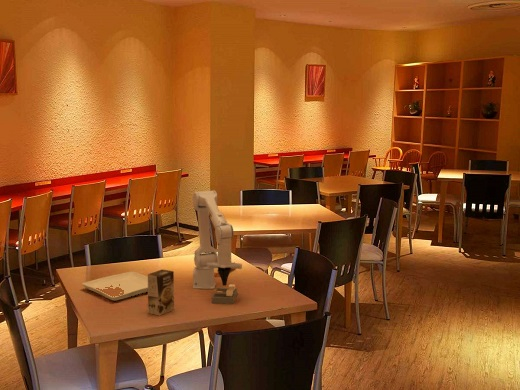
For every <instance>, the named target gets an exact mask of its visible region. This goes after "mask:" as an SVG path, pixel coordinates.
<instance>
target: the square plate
mask: <svg viewBox="0 0 520 390" xmlns="http://www.w3.org/2000/svg"><path fill="white" fill-rule="evenodd" d="M119 284H120V286H119ZM111 285H112V286H113V287H110V286H111ZM81 286H83V287H84V288H85V289H87V290H89V291H92V292H94V293H97V294H98V295H100V296H103V297H105V298H107V299H109V300H111V301H119V300H124V299H127V298H132V297H135V295H136V296H139V295H143V294H147V293H148V275H144V274H142V273H138V272H135V271H128V272H122V273H119V274H113V275H108V276H103V277H99V278H96V279H92V280H89V281H88V280H87V281H84V282H82V283H81ZM105 287H110V288H113V289H115V288H116V287H119V288H121V289H122V290H124V294H123V295H120V294H119V295H120V296H115V297H114V296H113V297H112V296H110V295H108V294H106V293H104V292H102V291H100V290H98V289H96V288H99V289H102V290H103V289H108V288H105ZM146 292H147V293H146ZM120 293H122V292H120ZM142 293H143V294H142ZM138 294H139V295H138ZM131 296H132V297H131Z"/></svg>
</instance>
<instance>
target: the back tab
mask: <svg viewBox="0 0 520 390" xmlns="http://www.w3.org/2000/svg"><path fill="white" fill-rule="evenodd" d="M228 288H229V289H232V290H233V291H234V290H235V288H236V284H233V283H232V284H231V283H230V284H229V285H228Z"/></svg>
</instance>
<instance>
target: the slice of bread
mask: <svg viewBox="0 0 520 390" xmlns="http://www.w3.org/2000/svg"><path fill="white" fill-rule="evenodd" d="M234 270H235V269H232V268H231V270H230V273H231V272H233V271H234ZM214 278H221V277H220V275H219V273H218V268H214Z"/></svg>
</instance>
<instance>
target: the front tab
mask: <svg viewBox="0 0 520 390" xmlns="http://www.w3.org/2000/svg"><path fill="white" fill-rule="evenodd" d="M232 295H233V290H232V289H227V291H226V296H232Z"/></svg>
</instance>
